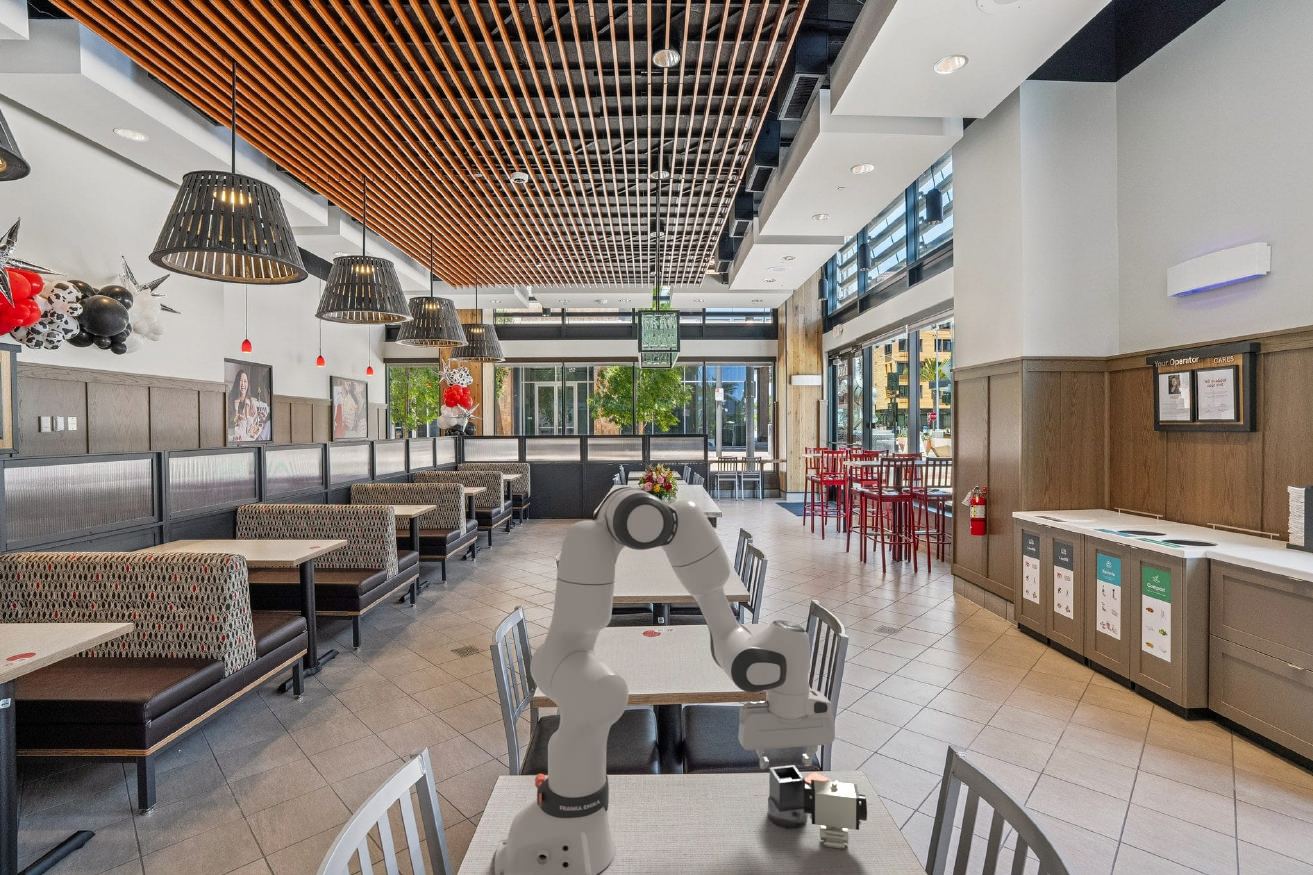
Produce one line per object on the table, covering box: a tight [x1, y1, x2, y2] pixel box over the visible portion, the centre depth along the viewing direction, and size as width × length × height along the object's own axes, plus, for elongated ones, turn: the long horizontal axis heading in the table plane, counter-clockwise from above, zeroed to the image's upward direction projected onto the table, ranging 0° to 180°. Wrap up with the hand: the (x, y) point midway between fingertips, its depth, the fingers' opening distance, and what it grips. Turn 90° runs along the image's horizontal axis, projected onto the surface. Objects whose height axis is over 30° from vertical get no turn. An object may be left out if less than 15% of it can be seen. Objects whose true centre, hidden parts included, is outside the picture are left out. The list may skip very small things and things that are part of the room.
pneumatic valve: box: [803, 779, 868, 850], centre depth 120 cm, size 6×12×12 cm, turn 78°
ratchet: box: [767, 772, 830, 830], centre depth 132 cm, size 18×8×8 cm, turn 136°
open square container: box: [768, 764, 806, 812], centre depth 128 cm, size 6×6×6 cm
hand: (785, 765), depth 127 cm, fingers open, 8 cm apart
